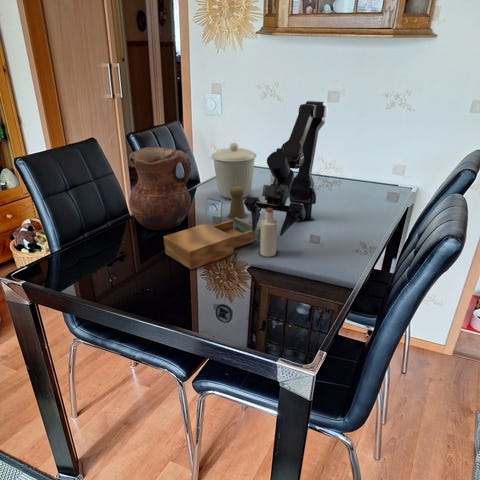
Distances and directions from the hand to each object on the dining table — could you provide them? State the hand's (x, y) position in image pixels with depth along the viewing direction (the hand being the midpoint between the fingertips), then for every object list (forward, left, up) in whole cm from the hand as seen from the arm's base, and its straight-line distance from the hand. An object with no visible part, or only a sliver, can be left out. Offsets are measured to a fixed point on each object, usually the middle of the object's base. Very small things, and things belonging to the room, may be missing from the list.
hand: (266, 233), depth 131 cm
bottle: (-1, -1, -7) cm, 8 cm away
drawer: (+6, -13, -7) cm, 16 cm away
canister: (-7, -58, -8) cm, 59 cm away
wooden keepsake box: (+20, -8, -7) cm, 22 cm away
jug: (+27, -37, -8) cm, 46 cm away
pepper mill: (-1, -35, -8) cm, 36 cm away
